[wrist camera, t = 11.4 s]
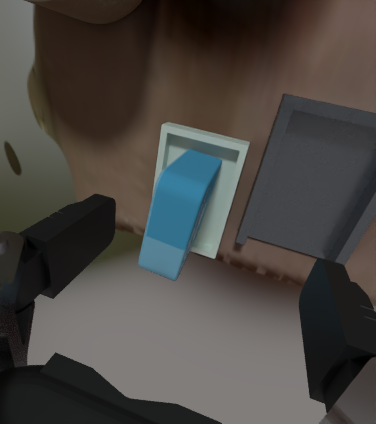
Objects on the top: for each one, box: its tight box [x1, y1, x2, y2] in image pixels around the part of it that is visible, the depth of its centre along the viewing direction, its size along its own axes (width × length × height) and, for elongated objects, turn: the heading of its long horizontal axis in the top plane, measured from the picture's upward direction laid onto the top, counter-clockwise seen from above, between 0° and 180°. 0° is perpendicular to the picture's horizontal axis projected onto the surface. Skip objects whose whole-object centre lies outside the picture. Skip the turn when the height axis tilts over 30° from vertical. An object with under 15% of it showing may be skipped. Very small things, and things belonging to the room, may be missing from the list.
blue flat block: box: [138, 149, 222, 281], centre depth 31 cm, size 12×4×12 cm, turn 164°
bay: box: [236, 94, 376, 265], centre depth 31 cm, size 13×18×3 cm
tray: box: [152, 122, 250, 259], centre depth 35 cm, size 11×17×2 cm, turn 169°
